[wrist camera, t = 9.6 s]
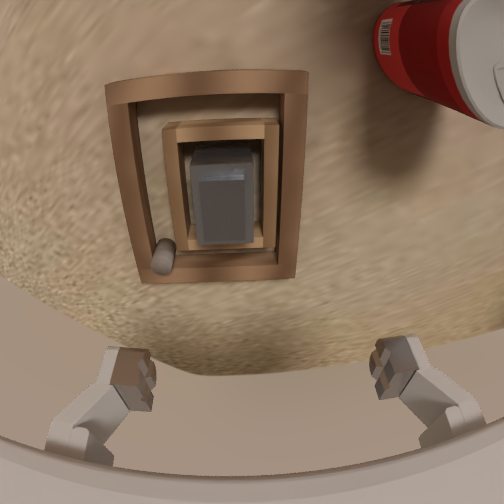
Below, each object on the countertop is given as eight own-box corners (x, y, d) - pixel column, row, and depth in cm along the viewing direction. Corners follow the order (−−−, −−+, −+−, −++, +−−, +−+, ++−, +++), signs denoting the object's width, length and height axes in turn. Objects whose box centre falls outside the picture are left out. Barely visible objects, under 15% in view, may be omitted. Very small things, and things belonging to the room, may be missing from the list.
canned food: (402, 109, 22) (488, 154, 13) (349, 27, 19) (428, 20, 10) (461, 69, 20) (554, 98, 11) (417, -10, 16) (510, -21, 7)
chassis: (302, 70, 21) (311, 73, 18) (291, 264, 31) (296, 285, 28) (113, 82, 20) (99, 86, 18) (145, 270, 30) (139, 290, 28)
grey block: (249, 141, 24) (254, 167, 19) (249, 210, 27) (254, 249, 23) (197, 144, 24) (187, 170, 19) (202, 212, 27) (196, 251, 22)
